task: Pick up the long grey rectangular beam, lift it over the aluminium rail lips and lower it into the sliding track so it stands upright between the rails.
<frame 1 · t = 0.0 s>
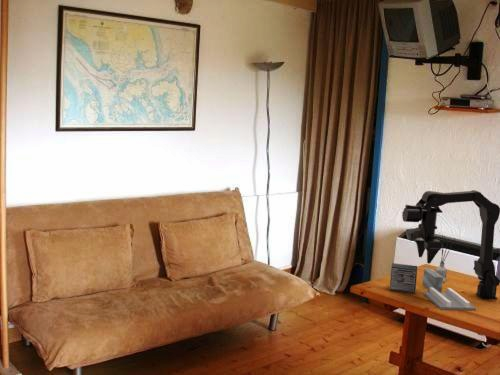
hand: (424, 260, 249), 15 cm above the table, tool pointing down, fingers open, 9 cm apart
sliding track: (448, 302, 244), on the table
long grey rectangular beam: (431, 288, 260), on the table
small box: (402, 290, 256), on the table
reed diffuser: (443, 279, 275), on the table
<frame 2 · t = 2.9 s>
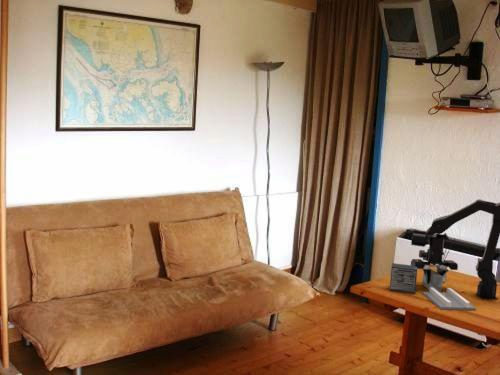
hand: (432, 283, 260), 2 cm above the table, tool pointing down, fingers closed on long grey rectangular beam, 3 cm apart
long grey rectangular beam: (431, 288, 260), on the table, touching gripper
everything else where it was.
when the fingers open (4 cm above the table, at t = 8.2 s): long grey rectangular beam drops 1 cm, resting on sliding track.
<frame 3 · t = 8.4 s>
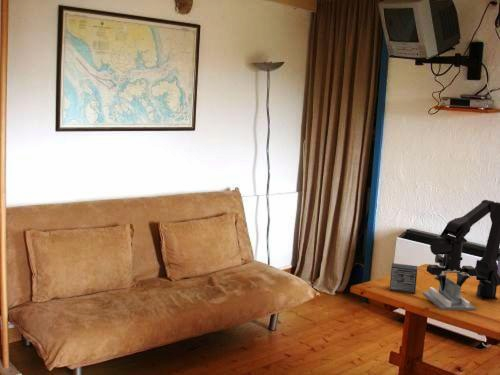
hand: (449, 291, 243), 4 cm above the table, tool pointing down, fingers open, 6 cm apart
long grey rectangular beam: (448, 299, 244), point 1 cm above the table, touching sliding track
everything else where it was.
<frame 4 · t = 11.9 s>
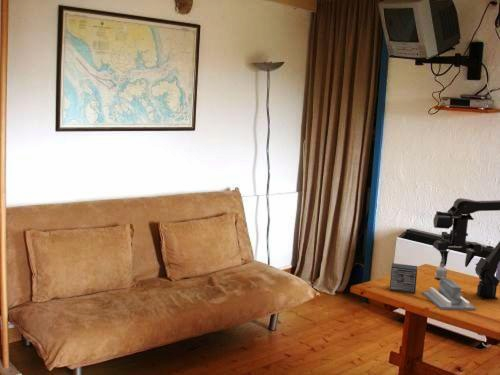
hand: (455, 266, 252), 12 cm above the table, tool pointing down, fingers open, 9 cm apart
nothing on the table moved.
at the end: long grey rectangular beam 0.1 cm off-centre on the sliding track, point 1.0 cm above the sliding track's base; long grey rectangular beam tilted 0°; the gripper is holding nothing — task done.
